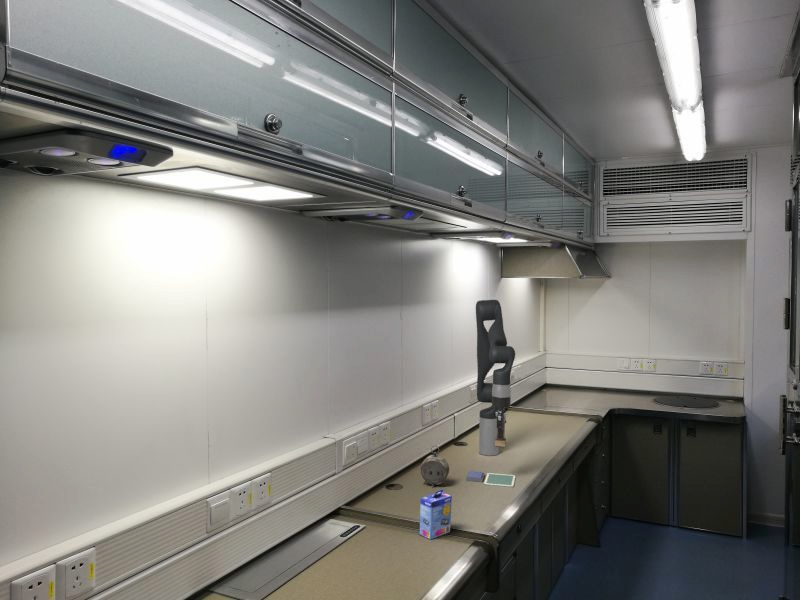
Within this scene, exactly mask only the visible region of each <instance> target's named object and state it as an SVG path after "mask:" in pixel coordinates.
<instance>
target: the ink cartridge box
mask: <svg viewBox="0 0 800 600" xmlns="http://www.w3.org/2000/svg"><path fill="white" fill-rule="evenodd" d="M452 497H453V496H452V495H451V494H449V493H446V492H444V488H443V489H439V490H438V491H435V492H434V493H432V494H428V495H425V496H422V497H420V506H419V507H420V508H419V515H420V516H419V535H420V536H422V537H424V538H426V539H428V540H430V541H431V540H433V539H436V538H438V537H441V536H443V535H446V534H448V533H451V519H452V500H453V499H452Z"/></svg>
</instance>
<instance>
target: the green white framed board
mask: <svg viewBox="0 0 800 600" xmlns="http://www.w3.org/2000/svg"><path fill="white" fill-rule="evenodd" d="M515 479H516V475H515V474H507V473H506V474H504V473H491V472H487V473H486V476H485V480H484V482H483V486H494V487H495V486H496V487H504V488H505V487H506V488H507V487H508V488H514V486H515V481H516V480H515Z"/></svg>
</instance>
